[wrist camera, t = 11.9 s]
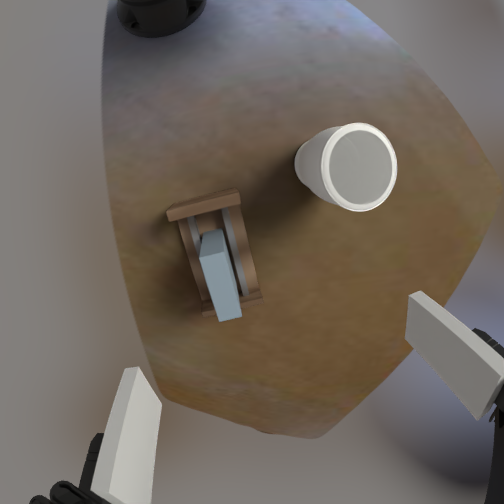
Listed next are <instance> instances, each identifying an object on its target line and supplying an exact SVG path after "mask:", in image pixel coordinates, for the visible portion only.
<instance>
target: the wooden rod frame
mask: <svg viewBox="0 0 504 504" xmlns="http://www.w3.org/2000/svg"><path fill="white" fill-rule="evenodd" d="M240 204H241V199H240V195H239V192H238V190H237V189H236V188H231V189H227V190H223V191H219V192H215V193H211V194H207V195H204V196H200V197H196V198H192V199H189V200H185V201H181V202H178V203H174V204H173V205H172V206H171V207H170V208H169V209H168V210H167V211H166V213H167V217H168V220H169V222H171V221H175V220H177V222H178V225H179V229H180V232H181V236H182V239H183V242H184V246H185V249H186V252H187V255H188V259H189V262H190V265H191V268H192V271H193V275H194V278H195V281H196V284H197V287H198V290H199V293H200V296H201V299H202V311H201V313H202V316H203V318H205V317H209V316H214V315H217V313H216V310H215V307H214V304H213V301H212V298H211V295H210V291H209V288H208V285H207V282H206V279H205V275H204V272H203V269H202V266H201V262H200V259H199V256H200V250H201V244H202V238H203V232H207V231H211V230H214V229H218V228H222V229H223V233H224V237H225V241H226V245H227V249H228V253H229V256H230V260H231V264H232V268H233V272H234V275H235V279H236V285H237V291H238V296H239V302H240V308H241V309H243V308H247V307H251V306H255V305H259V304H263V303H264V301H263V297H262V294H261V291H260V288H259V285H258V281H257V276H256V272H255V268H254V263H253V259H252V255H251V251H250V246H249V242H248V238H247V234H246V229H245V225H244V221H243V217H242V212H241V208H240Z"/></svg>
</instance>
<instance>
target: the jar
mask: <svg viewBox="0 0 504 504" xmlns="http://www.w3.org/2000/svg"><path fill="white" fill-rule="evenodd" d="M295 171H296V174H297V176H298V178H299V179H300V181H301V182H302V183H303V184H304V185H306V186H307V187H308V188H309V189H311V191H312V192H313V193H315V194H316V195H317V196H318V197H320V198H321V199H323V200H325V201H327V202H330V203H333V204H336V205H339V206H341V207H343V208H345V209H348V210H352V211H367V210H371V209H373V208H375V207H377V206H379V205H380V204H381V203H382V202H383V201H384V200H385V199H386V198H387V197H388V196H389V194H390V193H391V191H392V189H393V187H394V184H395V181H396V176H397V160H396V155H395V152H394V149H393V147H392V145H391V143H390V141H389V140H388V138H387V137H386V136H385V135H384V134H383V133H382V132H381V131H380V130H378V129H377V128H375V127H374V126H371V125H369V124H365V123H352V124H348V125H345V126H342V127H333V128H329V129H326V130H324V131H322V132H320V133H318V134H317V135H315V136H314V137H313V138H312V139H310V140H309V141H307V142H305V143H304V144H303V145H302V146H301V147H300V148H299V150H298V151H297V154H296V157H295Z"/></svg>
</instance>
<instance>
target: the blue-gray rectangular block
mask: <svg viewBox="0 0 504 504" xmlns="http://www.w3.org/2000/svg"><path fill="white" fill-rule="evenodd" d="M199 259H200V262H201V266H202V269H203V272H204V275H205V279H206V282H207V285H208V288H209V291H210V295H211V298H212V301H213V304H214V307H215V310H216V313H217V316H218V319H219V322H221V321H225V320H229V319H233V318H238V317H242V313H241V308H240V302H239V296H238V291H237V285H236V279H235V275H234V272H233V268H232V264H231V260H230V256H229V253H228V249H227V245H226V241H225V237H224V233H223V229H222V228H218V229H214V230H211V231H207V232H203V238H202V244H201V250H200V256H199Z"/></svg>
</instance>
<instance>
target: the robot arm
mask: <svg viewBox="0 0 504 504" xmlns="http://www.w3.org/2000/svg"><path fill="white" fill-rule="evenodd" d="M205 5H206V0H118V3H117V14H118V18H119V20H120V22H121V23H122V25H123V26H124V27H125V29H126V30H128V31H129V32H130V33H132V34H134V35H137V36H141V37H161V36H166V35H170V34H173V33H175V32H178V31H180V30H182V29H184V28H186V27H187V26H189V25H190V24H191V23H193V22H194V21H195V20H196V19H197V18H198V17H199V16H200V15H201V13H202V12H203V10H204V8H205ZM405 339H406V340H407V341H408V343H409V344H410V345H411V346H412V347H413V348H414V349H415V350H416V351H417V352H418V353H419V354H420V355H421V356H422V358H423V359H424V360H425V361H426V362H427V363H428V364H429V365H430V366H431V368H432V369H433V370H434V371H435V372H436V373H437V374H438V375H439V377H440V378H441V379H442V380H443V381H444V382H445V383H446V385H447V386H448V387H449V388H450V389H451V390H452V391H453V393H454V394H455V395H456V396H457V397H458V398H459V400H460V401H461V402H462V403H463V404H464V405H465V407H466V408H467V409H468V410H469V411H470V413H471V414H472V415H473V416H474V417H475V419H476V420H479V419H480V418H481V417H483V416H484V415H485V414H486V413H488V412H489V410H490V409H491V407H492V405H493V403H495V404H496V405H497V407H496V409H495V410H494V412H493V414H492V415H491V417H490V419H489V422H491V421H492V419H493V418H494V416H495V420H494V422H495V433H494V448H493V457H492V465H491V472H490V478H489V484H488V489H487V495H486V499H485V503H484V504H504V348H503V347H502V346H501V345H500V344H498V342H496V341H495V340H493V339H492V338H491V337H490V336H489V335H488V334H487V333H485V332H483V331H481V330H479V329H476V328H475V329H473V330H470V329H469V328H468V327H466V326H465V325H464V324H463V323H461V322H460V321H459V320H458V319H456V318H455V317H454V316H453V315H452V314H450V313H449V312H448V311H447V310H445V309H444V308H443V307H441V306H440V305H439V304H438V303H436V302H435V301H434V300H432V299H431V298H430V297H428V296H427V295H426V294H424V293H423V292H422V291H418V292H416V293H413V294H411V295H409V301H408V314H407V324H406V334H405ZM161 408H162V404H161V402H160V401H159V399H158V398H157V396H156V395H155V393H154V391H153V390H152V388H151V386H150V385H149V383H148V381H147V380H146V378H145V377H144V375H143V373H142V371H141V370H140V368H139V367H132V368H125V370H124V373H123V376H122V379H121V381H120V385H119V388H118V391H117V394H116V397H115V400H114V403H113V406H112V410H111V413H110V416H109V419H108V423H107V427H106V430H105V433H97V434H96V436H95V437H94V438H93V440H92V441H91V443H90V447H89V450H88V454H87V458H86V461H85V465H84V468H83V472H82V476H81V480H80V484H79V488H77V487H76V486H74V485H73V484H72V483H70V482H68V481H59V482H57V483H56V484H55V485H53V487H52V488H51V490H50V500H51V501H50V500H49V499H47V498H46V497H44V496H42V495H37V496H35V497H33V498H32V499H31V501H30V503H29V504H151V495H152V483H153V472H154V463H155V454H156V445H157V437H158V429H159V421H160V415H161Z"/></svg>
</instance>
